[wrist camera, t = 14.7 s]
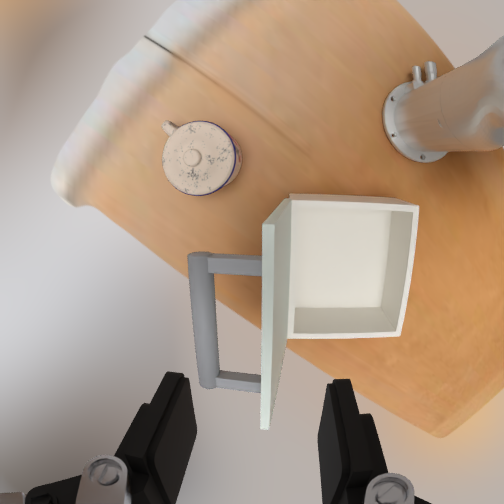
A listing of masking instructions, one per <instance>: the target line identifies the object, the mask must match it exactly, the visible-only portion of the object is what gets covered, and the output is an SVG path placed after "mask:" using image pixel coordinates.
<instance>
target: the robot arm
mask: <svg viewBox="0 0 504 504" xmlns="http://www.w3.org/2000/svg"><path fill="white" fill-rule="evenodd" d="M424 69H425V74H426V81H424V83H423V81H421V68H420V67H419V66H412V75H413V81H412V82H406V83H403V84H401V85H399V86H397V87H396V88H394V89H393V90H392V91H391V92H390V93H389V95H388V96H387V98H386V100H385V103H384V105H383V112H382V118H383V125H384V129H385V132H386V135H387V137H388V139H389V140H390V142H391V144H392V145H393V146H394V147H395V149H396V150H397V151H398V152H399V153H401V154H402V155H403V156H405V157H406V158H408V159H410V160H413V161H416V162H422V163H428V162H434V161H437V160H439V159H441V158H442V157H444V156H445V155H446V154H447V153H448V152H452V151H492V150H496V149H499V148H501V147H502V146H504V36H502V37H501V38H500V39H499V40H497V41H496V42H495V43H494V44H493V45H491V46H490V47H489V48H488V49H487V50H486V51H484V52H483V53H482V54H480V55H479V56H478V57H476V58H475V59H473V60H471V61H469V62H468V63H466V64H464V65H462V66H460V67H458V68H456V69H454V70H452V71H450V72H448V73H446V74H444V75H442V76H440V77H438V78H437V70H436V63H434V62H429V61H428V62H424ZM391 99H392V100H393V101H391ZM392 134H393V135H394V137H392ZM420 156H421V158H420ZM196 434H197V425H196V420H195V414H194V408H193V402H192V395H191V389H190V382H189V378H185V377H184V374H183V373H175V372H166V374H165V376H164V378H163V379H162V381H161V383H160V385H159V387H158V389H157V391H156V393H155V395H154V397H153V399H152V401H151V403H150V404H147V403H144V404H142V405H141V407H140V409H139V411H138V412H137V414H136V416H135V418H134V420H133V422H132V423H131V425H130V427H129V429H128V431H127V433H126V435H125V437H124V438H123V440H122V442H121V444H120V446H119V448H118V449H117V451H116V453H115V455H114V456H111V455H100V456H96V457H94V458H92V459H90V460H89V461H88V462H87V463H86V464H85V467H84V469H83V472H82V475H79V476H76V477H72V478H69V479H65V480H62V481H58V482H54V483H51V484H46V485H42V486H38V487H35V488H33V489H32V490H30V491H29V492H28V494H25V495H24V494H23V492H14V493H13V492H12V493H0V504H175V503H176V500H177V497H178V494H179V491H180V488H181V484H182V481H183V477H184V475H185V471H186V468H187V465H188V461H189V458H190V455H191V452H192V448H193V445H194V442H195V439H196ZM318 451H319V462H320V474H321V486H322V487H321V488H322V502H323V504H431V503H429V502H427V501H424V500H423V499H420V498H418V497H416V496H414V487H413V485H412V483H411V482H410V480H408V479H407V478H406V477H405V476H402V475H400V474H395V473H388V470H387V466H386V462H385V459H384V456H383V452H382V448H381V445H380V441H379V438H378V434H377V430H376V427H375V424H374V420H373V417H372V415H371V414H359V410H358V406H357V403H356V399H355V395H354V391H353V388H352V384H351V381H350V379H334V380H333V383H332V384H327V388H326V394H325V400H324V406H323V411H322V416H321V422H320V426H319V432H318Z"/></svg>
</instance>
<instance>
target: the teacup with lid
mask: <svg viewBox="0 0 504 504" xmlns="http://www.w3.org/2000/svg"><path fill="white" fill-rule="evenodd" d="M162 129H163V130H164V131H165V132H166V133H167V134H168V135H169V136H170V137H169V138H168V140H167V142H166V144H165V146H164V150H163V155H162V164H163V169H164V172H165V175H166V177H167V178H168V180H169V181H170V183H171V184H172V185H173V186H174V187H175V188H176V189H178V190H179V191H181V192H183V193H185V194H188V195H194V196H203V195H208V194H211V193H213V192H215V191H217V190H219V189H220V188H222V187H223V186H225V185H227V184H229V183H230V182H231V181H232V180H234V178H235V177H236V176H237V174H238V173H239V170H240V168H241V164H242V154H241V149H240V147H239V145H238V143H237V142H236V140H235V139H234V138H233V137H232V136H231V135H229V134H228V133H227V132H226V131H225V130H224V129H222V128H221V127H220V126H218V125H216V124H214V123H211V122H207V121H193V122H189V123H187V124H184V125H182V126H181V127H179V126H177V125H176V124H174V123H173V122H171V121H168V120H166V121H165V122H164V123H163V124H162Z"/></svg>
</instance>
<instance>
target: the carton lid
mask: <svg viewBox="0 0 504 504" xmlns="http://www.w3.org/2000/svg"><path fill="white" fill-rule="evenodd" d="M291 209H292V199H291V198H285V199H284V200H283V201H282V202H281V203H280V204H279V205H278V207H277V208H276V209H275V210H274V211H273V212H272V213H271V215H270V216H269V217H268V218H267V219H266V220H265V221H264V223H263V224H262V256H255V255H234V254H214V253H210V252H193V253H190V254H188V271H189V284H190V297H191V309H192V320H193V330H194V339H195V349H196V358H197V367H198V375H199V383H200V385H201V386H202V387H203V388H206V389H213V388H216V387H217V388H224V389H232V390H239V391H247V392H255V393H261V420H260V422H261V423H260V429H266V430H269V428H270V424H271V419H272V414H273V409H274V404H275V400H276V395H277V389H278V385H279V380H280V374H281V370H282V364H283V359H284V354H285V348H286V343H287V331H288V309H289V285H290V254H291ZM214 273H217V274H233V275H249V276H262V346H261V348H262V349H261V350H262V351H261V353H262V354H261V375H256V374H247V373H239V372H230V371H222V370H220V367H219V353H218V338H217V324H216V304H215V285H214Z"/></svg>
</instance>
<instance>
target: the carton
mask: <svg viewBox="0 0 504 504" xmlns="http://www.w3.org/2000/svg"><path fill="white" fill-rule="evenodd" d="M289 198H291V199H292V209H291V254H290V285H289V309H288V331H287V339H338V338H374V337H395V336H400V334H401V330H402V325H403V320H404V316H405V310H406V305H407V300H408V294H409V288H410V282H411V276H412V269H413V262H414V254H415V246H416V237H417V227H418V216H419V206H418V205H415V204H412V203H409V202H406V201H403V200H400V199H397V198H391V197H374V196H355V195H331V194H297V193H289Z"/></svg>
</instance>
